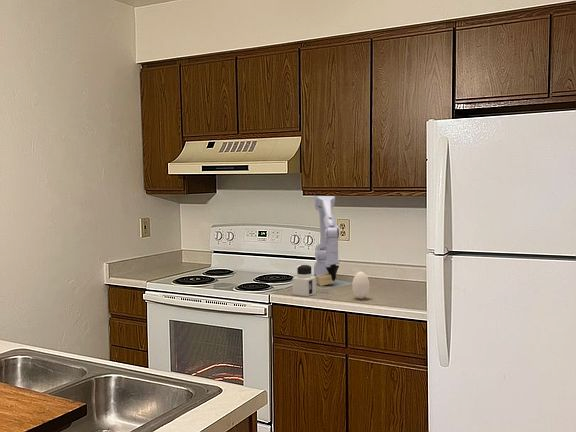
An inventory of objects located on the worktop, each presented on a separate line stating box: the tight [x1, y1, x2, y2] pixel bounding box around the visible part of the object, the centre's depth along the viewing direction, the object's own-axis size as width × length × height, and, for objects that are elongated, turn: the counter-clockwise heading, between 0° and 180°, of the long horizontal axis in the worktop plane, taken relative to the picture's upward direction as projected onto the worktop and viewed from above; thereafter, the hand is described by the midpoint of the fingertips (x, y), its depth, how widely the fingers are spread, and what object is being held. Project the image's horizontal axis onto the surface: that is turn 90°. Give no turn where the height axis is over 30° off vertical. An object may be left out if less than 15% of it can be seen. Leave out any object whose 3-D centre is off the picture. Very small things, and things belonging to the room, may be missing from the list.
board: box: [316, 279, 353, 290], centre depth 290 cm, size 14×21×1 cm, turn 131°
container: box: [292, 264, 317, 297], centre depth 271 cm, size 8×8×13 cm
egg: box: [351, 271, 371, 300], centre depth 260 cm, size 7×7×12 cm
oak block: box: [316, 273, 333, 287], centre depth 288 cm, size 6×6×4 cm
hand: (332, 280), depth 288 cm, fingers closed, pressing on oak block
